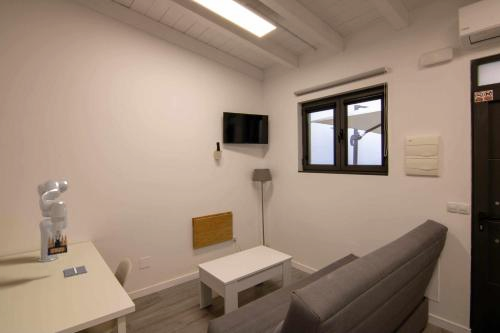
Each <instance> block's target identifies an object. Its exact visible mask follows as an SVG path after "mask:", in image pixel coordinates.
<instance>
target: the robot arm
mask: <svg viewBox="0 0 500 333" xmlns="http://www.w3.org/2000/svg"><path fill="white" fill-rule="evenodd" d="M68 189H69V183H68V182H67V180H65V179H49V180H46V181H45V182H43V183H39V184H38V185H37V189H36V190H37V194H38V196H39V200H38V205H39V210H40V211H41V216H42V217H43V218H45V219H43V220H41V221H40V222H39V227H38V228H39V232H40V257H39V258H38V259H37V261H38V262H40V263H45V262H46V263H47V262H51V261H54V260H57V259H58V258H59V254H55V255H49V256H47V253H48V238H49V237H50V241H52V238H54V246H55V248H58V247H61V241H60V240H61V238H62V235H63V230H65V229H67V227H68V208H67V202H66V201H65V200H64V199H57V198H59V197H60V196H61V194H64V193H65V192H66V191H68ZM46 218H47V219H46ZM56 236H57V237H56ZM59 236H60V237H59Z"/></svg>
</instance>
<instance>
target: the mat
mask: <svg viewBox="0 0 500 333" xmlns="http://www.w3.org/2000/svg"><path fill="white" fill-rule="evenodd" d="M63 271H64V272H63V273H64V277H65V278H69V277H73V276H77V275H78V276H79V275H82V274H87V273H88V271H87V269H86V265H80V266H76V267H71V268H67V269H66V268H65V269H64V270H63Z"/></svg>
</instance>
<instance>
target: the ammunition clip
mask: <svg viewBox="0 0 500 333" xmlns="http://www.w3.org/2000/svg"><path fill="white" fill-rule="evenodd" d="M56 237H57V236H56ZM59 237H60V236H59ZM60 241H61V247H58V248H55V246H54V238H52V241H50V237H49V238H48V253H47V256H49V255H55V254H56V255H59V254H65V253H68V237H67V234H64V235H63V234H62V236H61V237H60Z"/></svg>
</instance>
